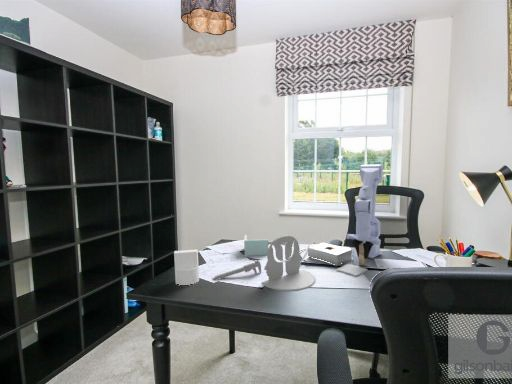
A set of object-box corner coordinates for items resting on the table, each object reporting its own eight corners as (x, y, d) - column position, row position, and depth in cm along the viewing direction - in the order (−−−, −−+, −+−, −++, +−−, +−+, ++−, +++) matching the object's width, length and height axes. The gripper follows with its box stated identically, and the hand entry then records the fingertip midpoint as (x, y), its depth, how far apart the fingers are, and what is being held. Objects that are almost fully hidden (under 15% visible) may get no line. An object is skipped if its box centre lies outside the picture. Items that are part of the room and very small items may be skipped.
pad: (347, 265, 122) (347, 263, 122) (367, 270, 115) (367, 269, 115) (336, 270, 116) (336, 269, 116) (356, 276, 109) (356, 275, 109)
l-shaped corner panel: (268, 254, 139) (268, 239, 138) (244, 255, 139) (244, 240, 138) (267, 247, 151) (266, 234, 150) (245, 248, 151) (244, 234, 150)
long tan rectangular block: (361, 262, 123) (361, 243, 122) (366, 264, 121) (367, 244, 120) (358, 264, 122) (359, 244, 121) (364, 265, 120) (364, 245, 119)
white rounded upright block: (174, 286, 104) (172, 255, 103) (177, 277, 113) (175, 248, 112) (198, 284, 105) (197, 254, 104) (199, 275, 114) (198, 247, 113)
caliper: (260, 272, 116) (260, 258, 116) (261, 273, 115) (261, 259, 115) (211, 279, 110) (211, 264, 110) (212, 281, 109) (211, 265, 109)
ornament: (304, 270, 117) (303, 231, 115) (327, 281, 106) (327, 238, 104) (260, 283, 105) (259, 240, 104) (282, 297, 94) (281, 249, 93)
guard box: (322, 252, 141) (322, 242, 140) (351, 259, 129) (351, 249, 128) (307, 257, 133) (307, 247, 132) (337, 266, 121) (337, 255, 120)
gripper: (343, 226, 123) (343, 255, 124) (375, 231, 112) (374, 264, 113) (351, 223, 127) (351, 252, 129) (383, 228, 116) (382, 259, 118)
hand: (362, 257), depth 121 cm, fingers closed on long tan rectangular block, 2 cm apart
